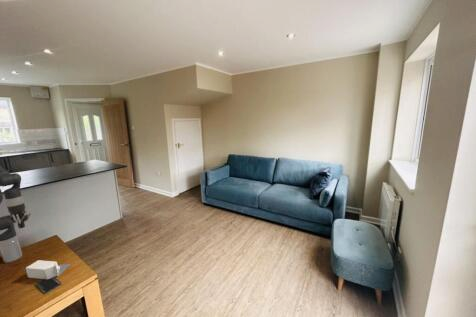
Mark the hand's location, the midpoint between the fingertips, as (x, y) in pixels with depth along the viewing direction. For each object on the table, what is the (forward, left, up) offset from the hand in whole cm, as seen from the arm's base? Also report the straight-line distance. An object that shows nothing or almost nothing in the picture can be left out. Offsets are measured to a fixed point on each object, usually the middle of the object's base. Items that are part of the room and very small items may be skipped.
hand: (22, 227), depth 131 cm
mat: (+21, +2, -29) cm, 36 cm away
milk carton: (+13, -4, -25) cm, 28 cm away
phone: (+34, -4, -29) cm, 45 cm away
